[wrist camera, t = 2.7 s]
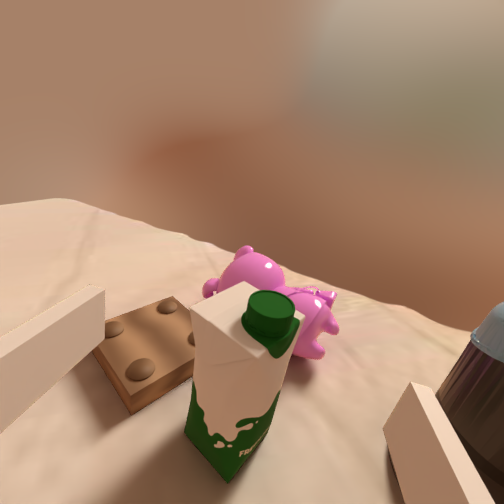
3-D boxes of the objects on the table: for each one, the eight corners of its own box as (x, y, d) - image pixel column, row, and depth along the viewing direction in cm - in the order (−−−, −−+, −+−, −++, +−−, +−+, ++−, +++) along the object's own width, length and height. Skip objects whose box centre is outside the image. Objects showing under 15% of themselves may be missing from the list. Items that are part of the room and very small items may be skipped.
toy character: (346, 325, 51) (252, 259, 62) (366, 293, 41) (248, 220, 52) (300, 392, 45) (203, 304, 56) (309, 374, 34) (187, 271, 45)
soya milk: (227, 500, 25) (262, 344, 17) (171, 432, 30) (178, 284, 22) (277, 433, 32) (320, 297, 24) (225, 385, 37) (245, 259, 29)
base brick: (171, 313, 49) (172, 294, 48) (220, 359, 41) (223, 339, 40) (89, 348, 39) (86, 326, 38) (131, 418, 31) (130, 393, 30)
